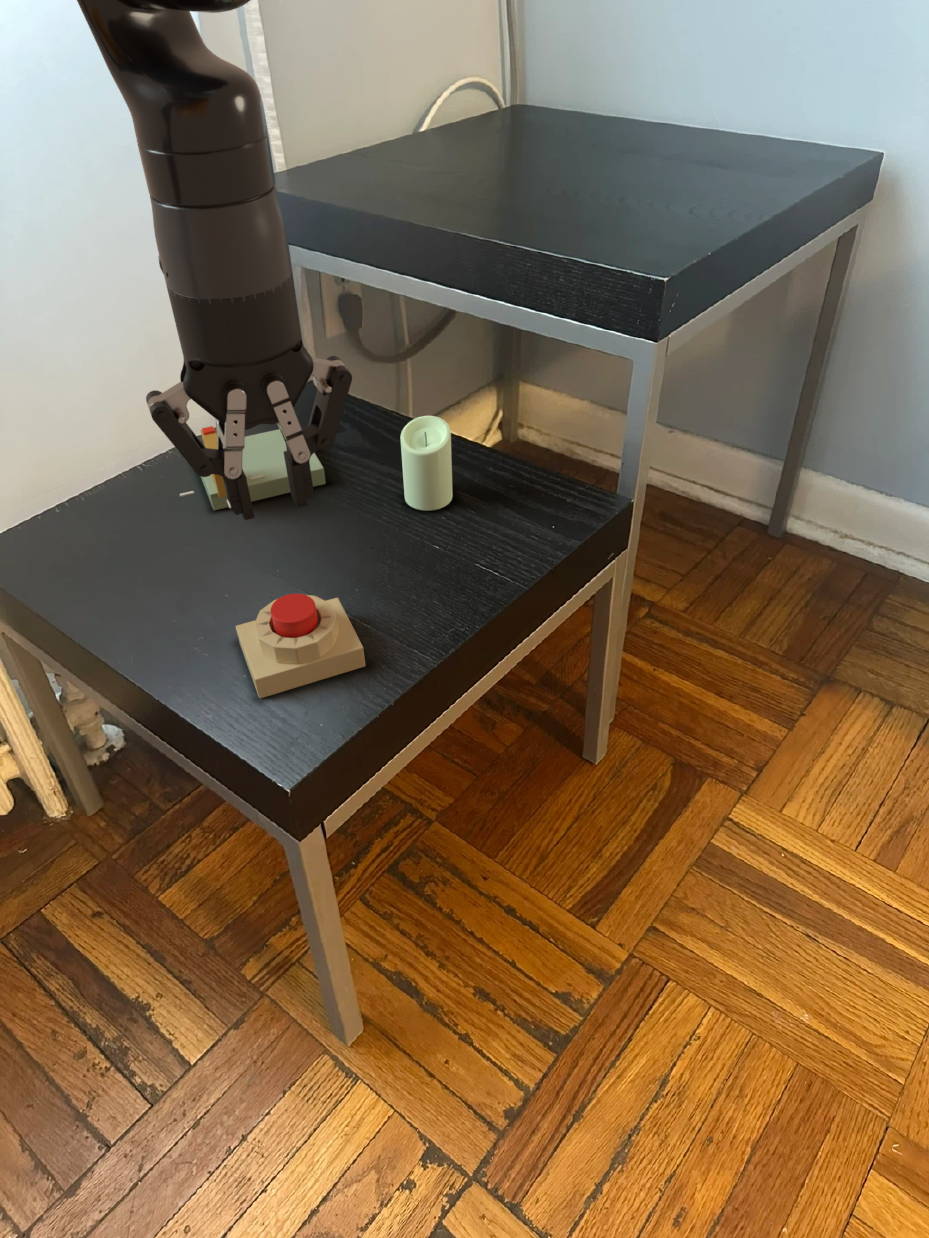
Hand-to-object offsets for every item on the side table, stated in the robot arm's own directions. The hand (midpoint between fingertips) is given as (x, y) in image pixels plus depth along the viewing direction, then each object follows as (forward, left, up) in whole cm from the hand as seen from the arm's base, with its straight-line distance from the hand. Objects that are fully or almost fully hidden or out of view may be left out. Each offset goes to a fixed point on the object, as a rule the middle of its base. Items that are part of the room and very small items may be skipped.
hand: (273, 506), depth 64 cm
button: (0, 0, -12) cm, 12 cm away
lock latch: (-1, +25, -13) cm, 29 cm away
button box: (0, 0, -15) cm, 15 cm away
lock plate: (+2, +28, -15) cm, 32 cm away
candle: (+19, +18, -15) cm, 30 cm away
